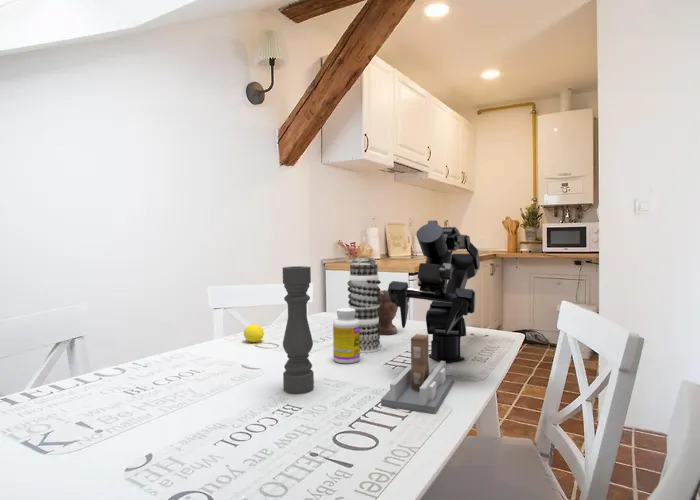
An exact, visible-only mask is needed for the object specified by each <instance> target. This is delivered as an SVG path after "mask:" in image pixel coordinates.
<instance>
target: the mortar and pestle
mask: <svg viewBox="0 0 700 500" xmlns="http://www.w3.org/2000/svg"><path fill="white" fill-rule="evenodd" d="M377 287H378V288H380V286H379V285H378V284H377ZM378 293H379V294H380V296H379V297H377V301H379V302H380V304H379V305H380V306H379V307H378V317H379V322H378V323H379V324H380V326H379V327H378V328H379V329H380V332H379V333H378V334H379V335H380V336H381V335H383V336H384V335H386V336H387V335H393V334H397V333H398V330H397V326H396V325H394V324H393V320H394V319H395V317H396V316H397V312H398V310H399V309H398V308H399V307H397V306H396V305H395V304H394V303H392V302H391V300H390V296H389V292H388V289H387V290H386V289H385V290H381V289H380V291H379V292H378V291H377V294H378Z"/></svg>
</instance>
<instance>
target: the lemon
mask: <svg viewBox="0 0 700 500" xmlns="http://www.w3.org/2000/svg"><path fill="white" fill-rule="evenodd" d="M264 334H265V333H264V329H263V328H262V327H261V326H260V325H259V324H254V323H252V324H249V325H247V326H246V327H245V328H244V330H243V337H244V339H245V340H246V341H247V342H249V343H253V344H254V342H256V343H258V342H261V340H262V339H263V338H264Z"/></svg>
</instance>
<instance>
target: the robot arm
mask: <svg viewBox="0 0 700 500" xmlns="http://www.w3.org/2000/svg"><path fill="white" fill-rule="evenodd" d="M416 238H417V242H418V245H419V246H420V249H421V253H422V254H423V256H424V257H426V259H425V262H421V263H419V265H418V271H417V279H418V280H417V286H418V287H419V289H416V288H410V287H409V284H408V282H407V281H406V282H405V281H396V280H392V281H391V282H390V283H388V288H387V290H388V292H389V296H390V300H391V302H392V303H394V304H395V305H396V306H397V307H398V308H399V311H400V321H401V327H402V329H405V327H406V325H407V321H408V315H409V314H408V313H409V307H410V306H409V303H410V299H418V300H425V301H431V303H430V304H429V308H428V309H427V311H426V314H425V324H426V330H427V331H426V332H427V335H428V336H430V335H432V340H431V341H430V343H431V345H430V348H431V351H430V353H429V358H431V359H434V360H436V361H438V362H440V361H446V364H447V363H451V362H459V361H464V360H465V357H464V356H461V338H462V337H466V336H467V326H466V321H465V318H464V316H468V314H473V313H475V309H476V292H475V290H474V289H472V288H471V289H470V288H466V285H467V283H468V280H470V279H472V278H473V277H475V276H476V275H477V272H478V270H480V265H481V264H480V263H481V262H480V260H481V259H480V255H479V249H478V248H477V247H476V246H475V245H474V244H473V243H472V242H471V239H470V235H467V234H461V233H460V231H459V229H458V228H457V227H456V226H443V227H442V226H441V225H439V224H438V220H428V221H427V223H426V224H424V225H422V226H421V227H419V228H418V230H417V231H416ZM457 250H466V252H467V253H455V251H457ZM453 252H454V253H453Z"/></svg>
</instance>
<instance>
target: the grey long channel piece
mask: <svg viewBox="0 0 700 500" xmlns="http://www.w3.org/2000/svg"><path fill="white" fill-rule="evenodd" d="M454 383H455V376H454V375H448V374H447V363H446V361H439V363H438V364H437V366H436V367H434V369H433V371H432V372H431V373H430V372H429V377H428V378H427V379H426V381H425V382H424V383H423V384H422V386H421V387H420V390H412V389H411V363H410V364H408V365H407V366H406V368H404V369H403V371H401V372H400V373H399V374H398V376H396V378H395V379H393V380H392V381H391V383H390V384H389V390H388V391H387V392H386V393H385V395H384V396H383V397H381V399H380V406H381V407H389V408H395V409H401V410H402V409H403V410H407V411H415V412H421V413H427V414H433V415H435V414H436V413H437V412H438V410H439V408H440V407H441V405H442V403H443V401H444V400H445V399H446V398H445V397H446V396H447V395H448V393H449V391H450V389H451V387H452V386H453V384H454Z"/></svg>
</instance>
